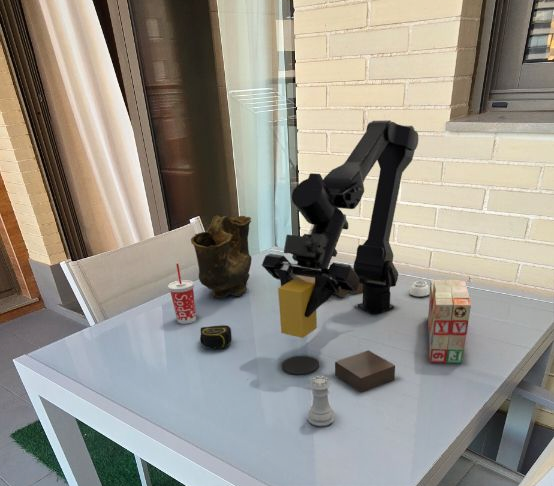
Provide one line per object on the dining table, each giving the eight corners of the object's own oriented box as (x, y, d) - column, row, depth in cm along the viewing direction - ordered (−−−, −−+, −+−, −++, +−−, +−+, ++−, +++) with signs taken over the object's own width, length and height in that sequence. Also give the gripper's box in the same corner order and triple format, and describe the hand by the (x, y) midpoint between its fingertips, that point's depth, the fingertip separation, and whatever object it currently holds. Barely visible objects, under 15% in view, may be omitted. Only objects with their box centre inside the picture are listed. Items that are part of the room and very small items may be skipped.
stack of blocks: (427, 319, 123) (432, 265, 116) (455, 319, 122) (462, 265, 115) (429, 363, 106) (435, 303, 99) (463, 364, 105) (471, 303, 98)
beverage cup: (169, 323, 131) (158, 266, 123) (182, 314, 136) (172, 258, 128) (191, 326, 129) (181, 268, 121) (203, 316, 133) (195, 259, 126)
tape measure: (232, 337, 122) (230, 321, 120) (232, 350, 116) (230, 334, 114) (202, 340, 122) (199, 324, 120) (200, 353, 116) (198, 337, 114)
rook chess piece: (306, 414, 93) (304, 374, 89) (331, 412, 94) (331, 371, 89) (309, 429, 90) (308, 387, 85) (336, 426, 90) (336, 384, 85)
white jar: (413, 289, 139) (406, 296, 135) (414, 278, 137) (407, 284, 134) (432, 292, 136) (425, 298, 133) (433, 280, 135) (426, 287, 131)
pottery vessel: (228, 275, 158) (219, 204, 147) (263, 276, 155) (257, 204, 144) (191, 307, 139) (179, 228, 128) (230, 310, 135) (221, 229, 124)
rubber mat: (274, 364, 110) (274, 362, 110) (306, 353, 113) (306, 352, 113) (294, 379, 104) (294, 377, 104) (326, 367, 107) (326, 366, 107)
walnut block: (335, 375, 104) (335, 361, 103) (368, 363, 107) (368, 350, 106) (360, 392, 98) (360, 378, 97) (394, 379, 101) (395, 365, 100)
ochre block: (295, 323, 107) (293, 279, 102) (316, 328, 105) (315, 283, 100) (281, 333, 104) (278, 288, 99) (303, 338, 101) (300, 292, 96)
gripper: (263, 210, 100) (233, 287, 99) (352, 218, 90) (320, 303, 89) (289, 241, 109) (261, 312, 108) (372, 252, 100) (343, 329, 99)
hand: (294, 313), depth 101 cm, fingers closed on ochre block, 5 cm apart
